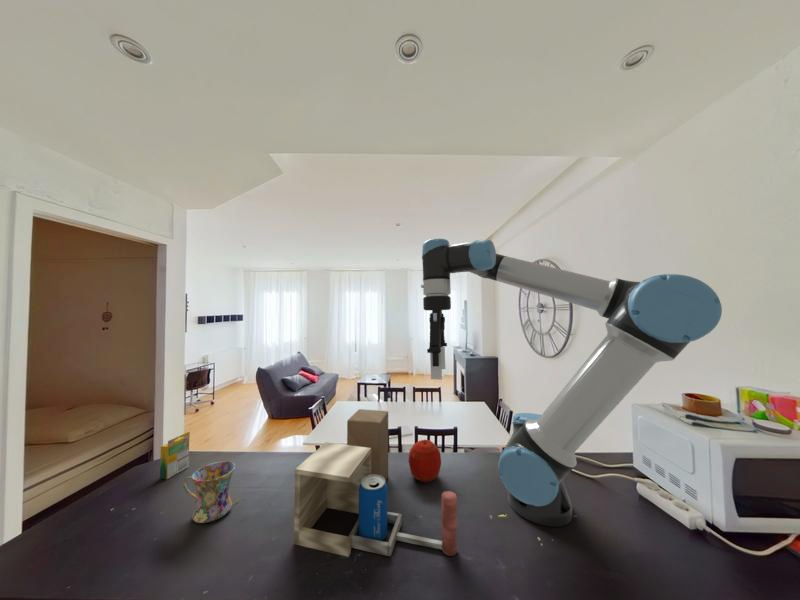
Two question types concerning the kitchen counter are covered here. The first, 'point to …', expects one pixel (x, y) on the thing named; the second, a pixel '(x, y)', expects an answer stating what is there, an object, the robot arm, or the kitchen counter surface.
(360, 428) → the wooden block
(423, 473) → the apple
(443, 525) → the square frame pulling tool
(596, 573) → the kitchen counter surface
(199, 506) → the mug
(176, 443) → the crayon box
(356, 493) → the open wooden box
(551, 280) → the robot arm
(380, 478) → the beverage can
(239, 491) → the kitchen counter surface
